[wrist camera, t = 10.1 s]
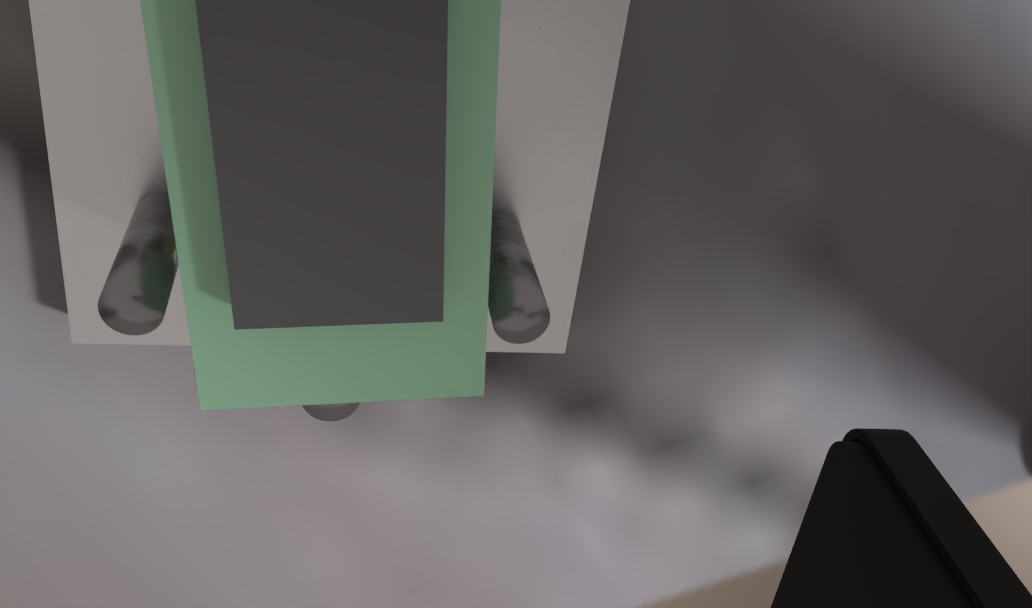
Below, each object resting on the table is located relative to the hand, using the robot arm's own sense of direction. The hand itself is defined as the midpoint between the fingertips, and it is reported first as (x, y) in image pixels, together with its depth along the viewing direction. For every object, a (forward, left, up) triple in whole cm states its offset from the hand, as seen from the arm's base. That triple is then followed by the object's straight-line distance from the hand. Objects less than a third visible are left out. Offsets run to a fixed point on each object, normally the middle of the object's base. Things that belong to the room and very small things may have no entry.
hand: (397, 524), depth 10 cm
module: (+1, 0, -14) cm, 14 cm away
